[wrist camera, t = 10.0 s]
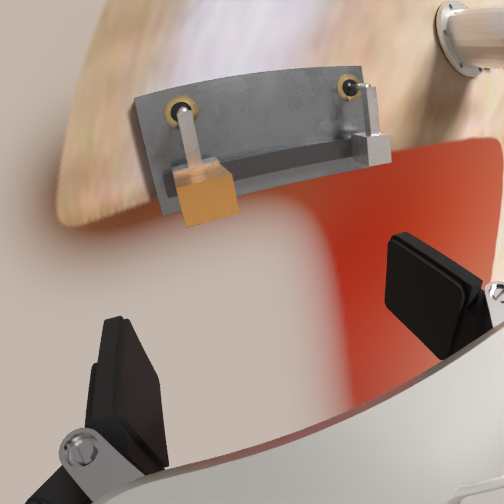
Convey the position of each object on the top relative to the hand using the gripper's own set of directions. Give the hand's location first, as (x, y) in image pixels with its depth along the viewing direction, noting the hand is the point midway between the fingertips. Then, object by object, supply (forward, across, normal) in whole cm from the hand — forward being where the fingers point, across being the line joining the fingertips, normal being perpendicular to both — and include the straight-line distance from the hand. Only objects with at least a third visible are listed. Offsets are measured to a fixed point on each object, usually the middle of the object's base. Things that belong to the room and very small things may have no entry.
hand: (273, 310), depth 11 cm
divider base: (+24, -8, -3) cm, 26 cm away
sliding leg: (+22, 0, -2) cm, 22 cm away
